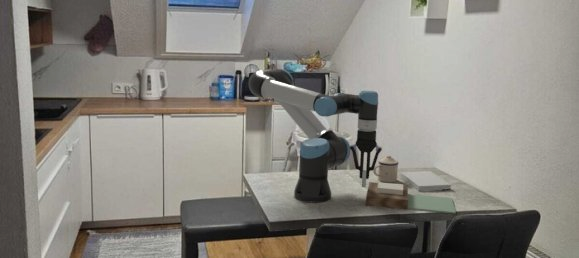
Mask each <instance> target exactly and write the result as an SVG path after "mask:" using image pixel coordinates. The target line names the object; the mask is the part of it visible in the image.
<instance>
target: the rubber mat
mask: <svg viewBox="0 0 579 258" xmlns="http://www.w3.org/2000/svg"><path fill="white" fill-rule="evenodd" d="M407 210H412V211H414V210H415V211H423V212H434V213H442V214H445V213H446V214H454V215H455V214H456V213H457V211H456V209H455V205H454V202H453V199H452V197H443V196H435V195H433V196H432V195H421V194H411V193H408V208H407Z"/></svg>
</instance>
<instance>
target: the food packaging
mask: <svg viewBox="0 0 579 258" xmlns="http://www.w3.org/2000/svg"><path fill="white" fill-rule="evenodd" d="M399 176H400V177H401V178H402V179H403V182H405V183H406V184H408V185H409V186H411V188H413V189H415V190H417V191H418V192H435V191H443V189H444V190H451V186H452V184H451V183H449V182H447V181H446V180H445V179H443V178H442V177H440V176H439V175H437V174H435V173H434V172H432V171H431V170H429V171H428V170H427V171H426V170H425V171H424V170H423V171H406V172H404V171H403V172H400V174H399Z"/></svg>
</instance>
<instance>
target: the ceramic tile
mask: <svg viewBox="0 0 579 258" xmlns="http://www.w3.org/2000/svg"><path fill="white" fill-rule="evenodd" d="M377 183H378V190H377V193H388V194H399V195H403V185H404V184H401V183H387V182H381V181H378V182H377Z"/></svg>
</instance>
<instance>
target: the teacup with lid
mask: <svg viewBox="0 0 579 258" xmlns="http://www.w3.org/2000/svg"><path fill="white" fill-rule="evenodd" d="M398 168H399V161H398V160H396V159H394V158H392V155H387V156H386V157H384V158H380V159H378V165H377V164H376V165H375V167H374V170H372V171H373V174H374V175H375V176H377V180H378V182H381V183H392V184H394V183H396V182H397V181H398V171H399V170H398ZM377 169H378V173H376V170H377Z"/></svg>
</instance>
